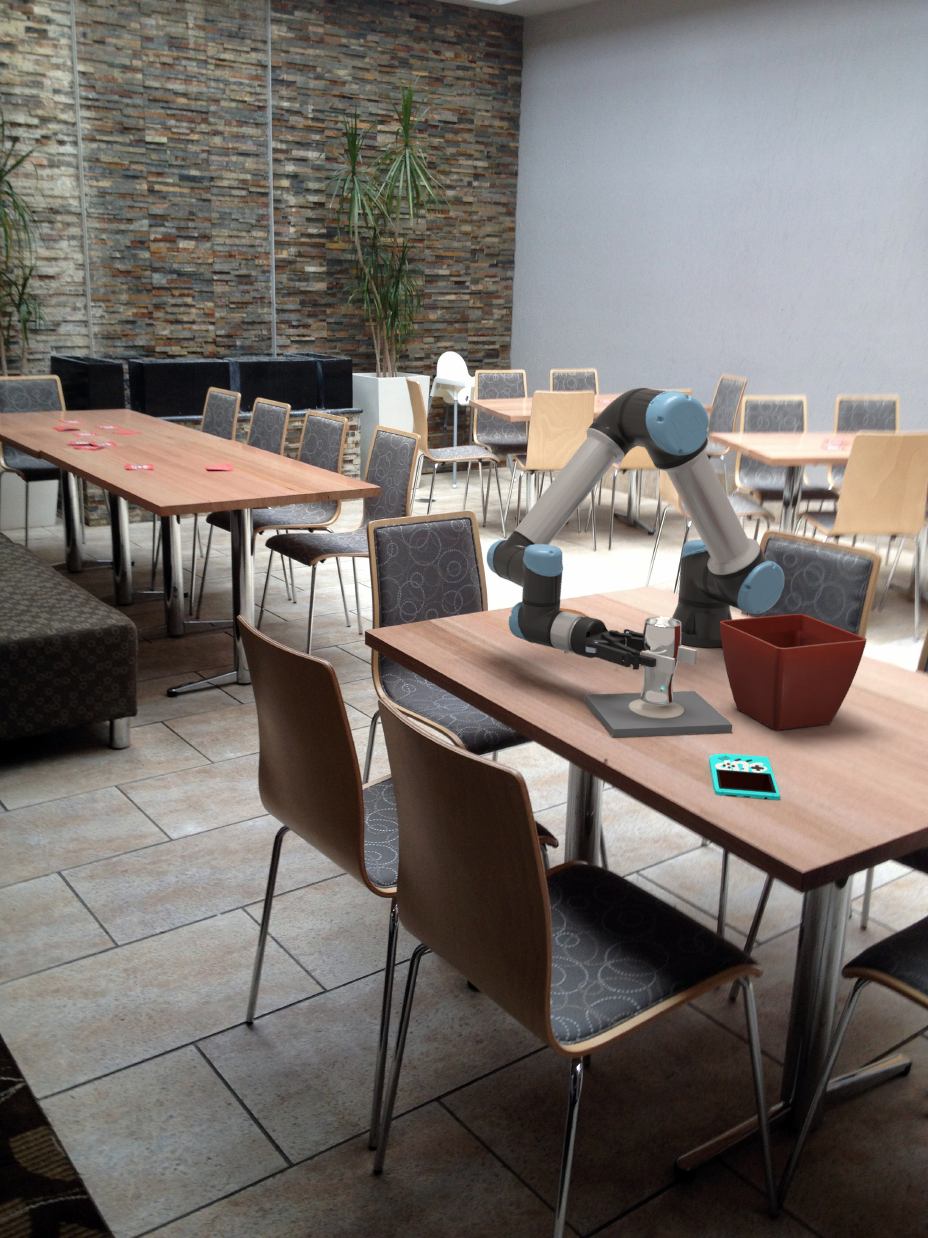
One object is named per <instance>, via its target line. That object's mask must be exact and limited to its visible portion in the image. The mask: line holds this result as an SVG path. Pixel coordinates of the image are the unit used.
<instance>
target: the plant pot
mask: <svg viewBox="0 0 928 1238" xmlns="http://www.w3.org/2000/svg"><path fill="white" fill-rule="evenodd" d="M720 630H721V640H722V653H723V659H724V665H725V670H726V674H727V681H728V683H729V687H730V690H731V695H732V698H733V702H734V704H735V706H736V709H737V710H738V711H741V712H742V713H744V714H745V715H747V716H748V717H750V718H752V719H754V720H757V721H758V722H760V723H761V724H763V725H765V726H767V727H768V728H770V729H772V730H775V731H781V730H786V729H788V730H789V729H797V728H802V727H803V728H805V727H810V726H811V727H812V726H819V725H820V726H821V725H827V724H831V723H832V722H833V720H834V718H835V717H836V715H837V713H838V711H839V710H840V708H841V706H842V704H843V702H844V700H845V698H846V697H847V694H848V693H849V692H850V691H849V690H850V688H851V686H852V684H853V681H854V679H855V676H856V675H857V672H858V669H859V666H860V663H861V661H862V657H863V654H864V651H865V648H866V644H867V638H865V637H863V636H860V635H858V634H856V633H853V632H851V631H848V630H846V629H843V628H840V627H837V626H835V625H833V624H830V623H828V622H824V621H822V620H820V619H817V618H814V617H812V616H810V615H807V614H803V613H793V614H782V615H781V614H779V615H769V616H768V615H767V616H759V617H757V616H754V617H747V618H746V617H745V618H737V619H732V620H723V621H720Z"/></svg>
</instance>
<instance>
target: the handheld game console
mask: <svg viewBox="0 0 928 1238" xmlns="http://www.w3.org/2000/svg"><path fill="white" fill-rule="evenodd" d="M769 759H770V758H769V757H768V756H762V755H761V756H760V755H748V754H736V753H717V754H715V753H714V754H711V755H710V756H709V757H708V762H709V767H710V773H711V774H710V775H711V778H712V779H711V780H712V785H713V790H714V794H715V796H725V797H726V796H728V797H735V798H736V797H737V798H738V797H740V798H748V799H749V798H750V799H760V800H764V799H765V798H766V800H771V801H772V800H774V801H779V800H781V799H780V798H781V795H780V791H779V788H778V785H777V782H776V779H775V775H774V771H773V769H772V766H771V765H772V764H771V762H770V760H769Z"/></svg>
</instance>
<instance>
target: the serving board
mask: <svg viewBox="0 0 928 1238" xmlns="http://www.w3.org/2000/svg"><path fill="white" fill-rule="evenodd" d="M673 695H674V702H673V703H672V704H670V705H664V706H657V705H650V704H647V703H644V702H643V701H641V699H640V696H641V692H628V693H627V692H626V693H625V692H624V693H623V692H621V693H599V694H597V693H595V694H593V693H592V694H584V701H583V702H584V704H585V705H586V706H587V707H588V708H589V710H590V711H591V712H592V713H593V715H594V716H595V717H596V718H597V720H598V721H599V722H600V723H601V725H602V726H603V727H604V728H605V729H606V731H607V732H608V733H609V735H610V736H611V737H612V738H624V737H625V738H632V737H633V738H634V737H652V736H653V737H654V736H655V737H656V736H676V735H677V736H678V735H701V734H703V735H704V734H724V733H725V734H726V733H729V734H731V733H732V732H733V724H732V723H731V721H730V720H728V719H727V718H726V717H725V716H724V715H722V713H720V711H718V710H717V709H715V707H713V706H712V705H711V704H710V703H709V702H708V701H706V699H704V698H703V697H702V696H701V695H700V694H699V693H697V692H696V691H695V690H685V691H684V690H683V691H673Z"/></svg>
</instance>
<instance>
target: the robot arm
mask: <svg viewBox="0 0 928 1238" xmlns="http://www.w3.org/2000/svg"><path fill="white" fill-rule="evenodd" d="M708 427H710V421H709V415H708V413H707V410H706V408H705V407H704V405H703V404H702V402H701V401H700V400H698V399H697V398H695V397H694V396H692V395H690V394H687V393H684V392H681V391H677V390H662V389H661V390H660V389H654V388H653V389H651V388H649V387H647V388H646V387H639V388H633V389H630V390H628V391H626V392H623V393H622V394H620V395H619V396H617V397H616V398H615V399H614V400H612V401H611V402H610V403H609V404H608V405H607V406H606V407H605V408H604V409H603V410H602V411H601V412H600V413H599V415H598V416H596V418H595V419H594V421H593V422H592V423H591V424H590V425H589V427H588V428H587V429H586V439H585V440H584V441H583V442H582V444H581V445H580V447H579V448H578V449H577V450H576V451H575V453H574V454H573V455H572V456H571V457H570V459H569V460H568V462H567V463H566V464H565V466H563V468H562V469H561V471H560V472H559V473H558V474H557V475H556V477H555V478H554V480H553V481H552V482H551V483H550V485H549V486H548V487H546V488H547V489H546V490H544V492H543V493H542V494H541V496H540V497H539V498H538V500H537V501H536V502H535V504H534V505H533V506H532V507H531V509H530V510H529V511H528V512H527V513H526V515H525V517H524V518H523V519H522V520H521V522H520V523H519V524H518V525H517V527H516V528H515V529H514V530H513V532H511V534H510V535H509V537H508V538H507V539H499V540H497V541H495V542H494V543H492V544H491V545H490V547H489V548H488V550H487V553H486V563H487V566H488V568H489V569H490V571H491V572H492V573H495V575H497V576H498V577H499V578H501V579H504V580H507V581H509V582H512V583H513V584H515V585H517V586H520V587H521V588H522V595H521V597H522V599H521V600H522V601H519V602H517V603H516V604H515V605H514V606H513V607H512V608H511V611H510V616H508V617H509V618H508V627H509V631H510V632H511V634H512V635H513V636H515V638H518V639H520V640H524V641H527V643H531V644H536V645H540V646H541V645H542V646H545V647H549V648H553V649H555V650H556V649H557V650H560V651H563V652H564V653H565V655H567V654H570V653H571V654H575V655H577V656H580V657H584V658H589V659H593V658H597V659H601V660H602V661H606V662H610V663H611V664H614V665H619V666H622V667H625V668H631V666H632V670H635V671H638V670H639V669H640V667H642V668H643V667H647V668H650V669H654V670H658V671H661V672H665V673H669V674H674V668H675V659H674V658H670V657H666V656H663V655H659V654H655V653H650V652H647V651H642V636H643V632H636V631H635V630H632V629H628V628H626V629H623V632H620V631H619V630H613V629H609V630H608V628H607V626H606V624H605V623H604V622H603V620H601V619H598V618H593V617H590V616H589V617H585V616H583V615H579V614H575V613H570V612H566V611H562V610H560V608H561V596H562V595H561V593H562V584H563V583H562V582H563V571H564V565H563V550H562V549H561V548H560V547H558V546H556V545H551V543H552V541H553V540H555V538H556V537H557V536H558V534H559V533H560V531H561V530H562V529H563V528H564V527H565V525H566V524H567V523H568V521H569V520H570V519H571V517H573V515H574V514H575V512H576V511H577V510H578V509H579V507H580V506H582V503H584V501H585V500H586V498H587V497H588V496H589V494H591V492H592V491H593V490H594V489H595V487H596V485H598V483H599V482H600V481H601V479H603V477H604V476H605V474H606V473H607V472H608V470H610V469H611V467H612V466H613V464H614V463H615V462H616V461H618V460H623V459H624V458H625V457H626V456H627V454H628V453H629V452H630V451H631V450H633V449H635V448H637V447H640V448H643V449H645V450H646V452H647V454H648V455H649V458H650V459H651V461H652V463H653V465H654V467H655V468H656V469H657V470H660V471H663V472H664V471H665V472H666V474H667V476H668V477H669V480H670V481H671V483H672V486H673V487H674V489H675V491H676V493H677V494H678V497H679V498H680V501H681V503H682V505H683V507H684V508H685V511H686V513H688V516H689V519H690V520H691V522H692V523H693V526H694V527H695V529H696V531H697V534H698V535H699V537H700V539H694V540H693V539H692V540H688V541H686V542H685V543H684V544H683V547H682V552H681V556H680V572H679V588H678V599H677V605H676V607H675V610H674V612H673V614H672V617H671V618H673V619H677V620H679V621H680V622H681V623H682V624H681V649H680V655H679V660H678V662H679V663H683V664H686V665H691V666H695V665H697V655H698V650H697V649H694V648H690V647H685V646H691V647H697V648H721V647H722V640H721V630H720V621H723V620H733V616H732V612H731V607H733V608H735V609H737V610H740V612H741V611H742V612H744V613H749V614H756V615H757V614H763V613H765V612H767V611H769V610H770V609H771V608H773V607H774V605H776V604H777V602H778V601H779V600H780V598H781V596H782V592H783V589H784V588H785V579H786V578H785V573H784V570H783V568H782V567H781V566H780V565H779V564H778V563H776V562H775V561H772V560H769V559H767V557H766V555H765V553H764V551H763V549H762V547H761V545H760V543H759V542H758V541H757V540H756V539H754V538H750V537H748V536H747V534H746V532H745V530H744V528H743V526H742V524H741V522H740V519H739V517H738V515H737V514H736V511H735V510H734V507H733V506H732V503H731V502H730V500H729V497H728V495H727V493H726V491H725V489H724V487H723V485H722V483H721V481H720V479H719V477H718V475H717V473H716V471H715V468H714V467H713V464H712V463H711V461H710V459H709V457H708V454H707V453H706V449H707V448H708V446H709V438H708V435H709V431H708ZM682 645H685V646H682Z"/></svg>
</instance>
